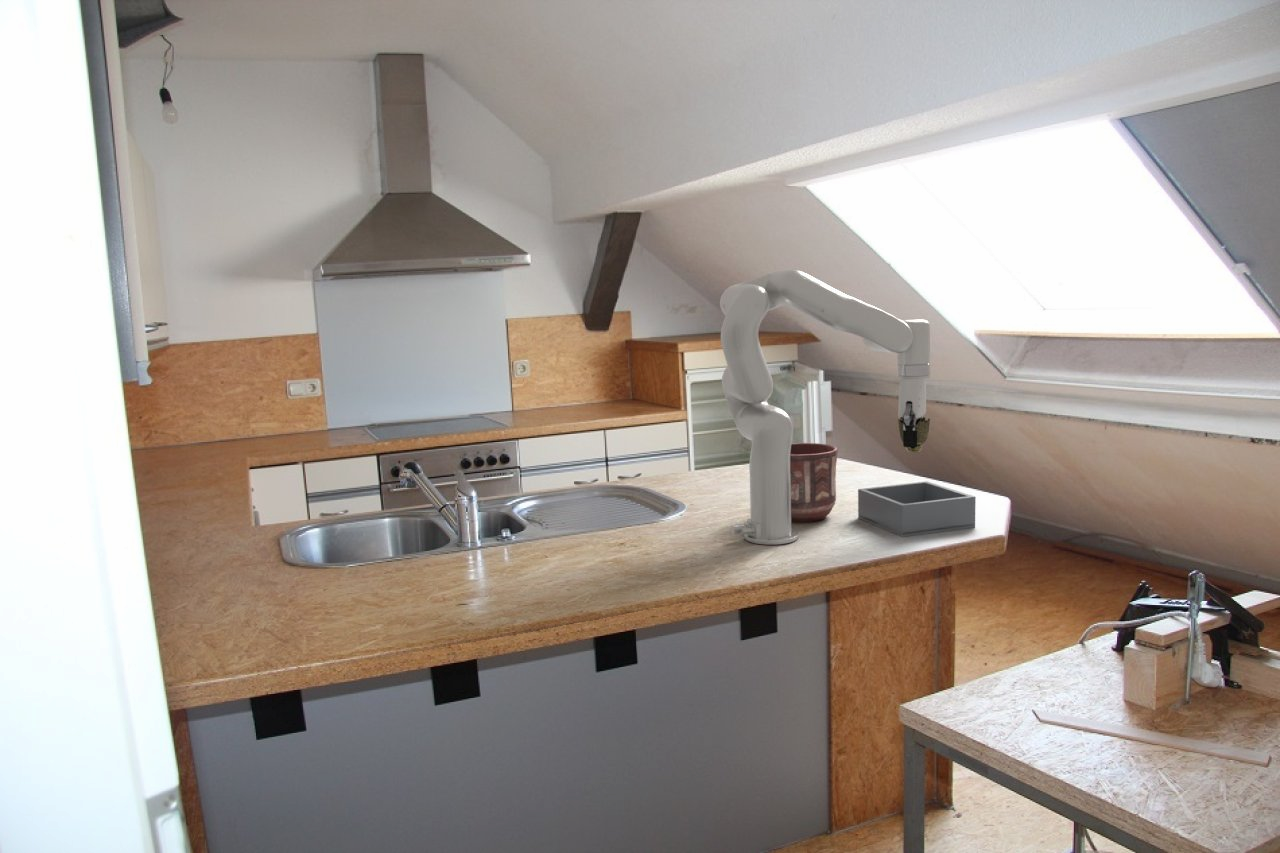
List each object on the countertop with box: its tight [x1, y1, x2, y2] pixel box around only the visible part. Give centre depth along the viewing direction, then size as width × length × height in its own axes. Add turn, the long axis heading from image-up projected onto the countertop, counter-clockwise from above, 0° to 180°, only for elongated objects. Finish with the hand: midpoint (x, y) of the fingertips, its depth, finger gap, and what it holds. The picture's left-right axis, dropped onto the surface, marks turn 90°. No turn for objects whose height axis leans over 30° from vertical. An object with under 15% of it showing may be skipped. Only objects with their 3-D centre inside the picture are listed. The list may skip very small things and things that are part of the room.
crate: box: [857, 480, 976, 538], centre depth 237 cm, size 20×20×8 cm
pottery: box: [790, 442, 839, 524], centre depth 246 cm, size 18×18×18 cm
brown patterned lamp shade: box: [897, 416, 931, 453], centre depth 234 cm, size 8×7×8 cm
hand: (913, 443), depth 234 cm, fingers closed on brown patterned lamp shade, 7 cm apart
